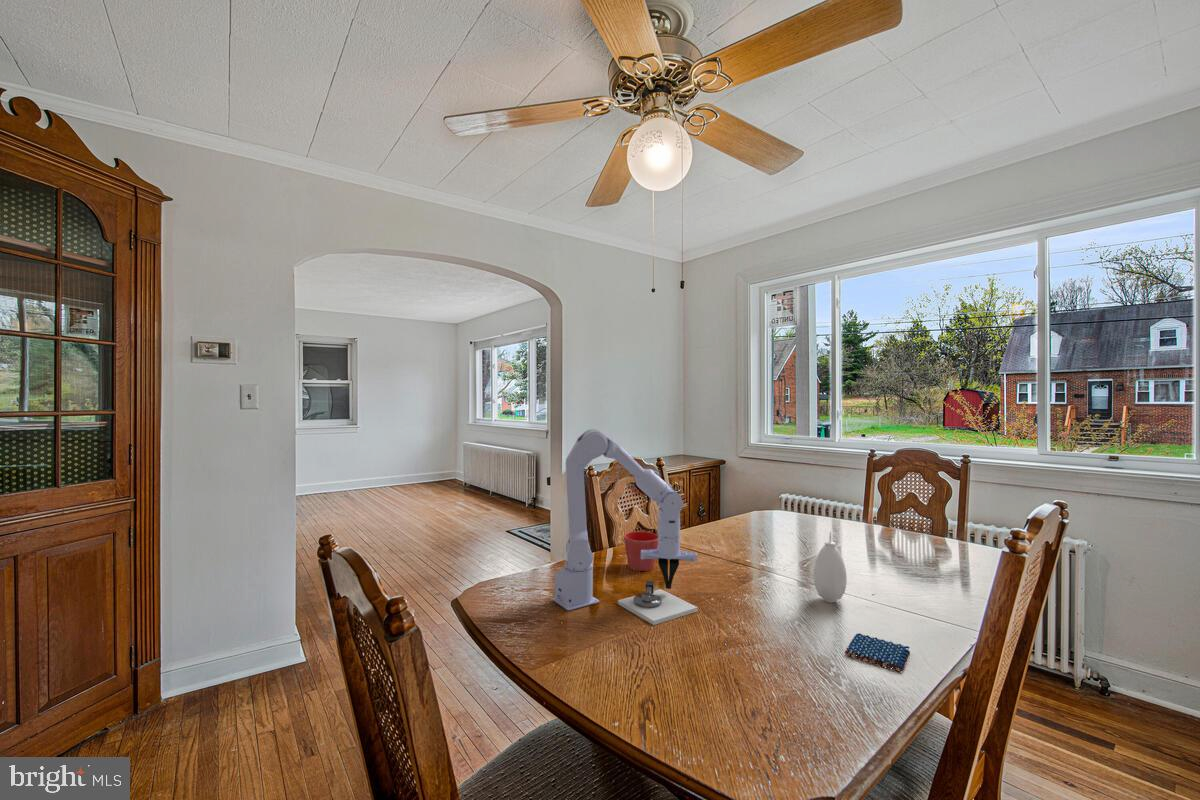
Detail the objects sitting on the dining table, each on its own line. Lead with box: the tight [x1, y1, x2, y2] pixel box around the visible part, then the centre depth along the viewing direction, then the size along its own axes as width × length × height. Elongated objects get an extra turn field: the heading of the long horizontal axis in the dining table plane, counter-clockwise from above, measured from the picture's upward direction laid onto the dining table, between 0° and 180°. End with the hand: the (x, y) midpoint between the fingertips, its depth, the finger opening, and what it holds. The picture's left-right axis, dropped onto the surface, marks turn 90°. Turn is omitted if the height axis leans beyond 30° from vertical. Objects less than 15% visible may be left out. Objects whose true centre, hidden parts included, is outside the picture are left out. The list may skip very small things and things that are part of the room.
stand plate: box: [617, 588, 699, 626], centre depth 126 cm, size 14×14×1 cm
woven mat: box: [844, 632, 911, 672], centre depth 104 cm, size 10×11×2 cm
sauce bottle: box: [812, 532, 848, 604], centre depth 131 cm, size 8×8×18 cm
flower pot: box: [623, 530, 658, 572], centre depth 156 cm, size 11×11×10 cm
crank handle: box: [634, 580, 662, 607], centre depth 129 cm, size 11×7×2 cm, turn 169°
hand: (668, 587), depth 132 cm, fingers closed
